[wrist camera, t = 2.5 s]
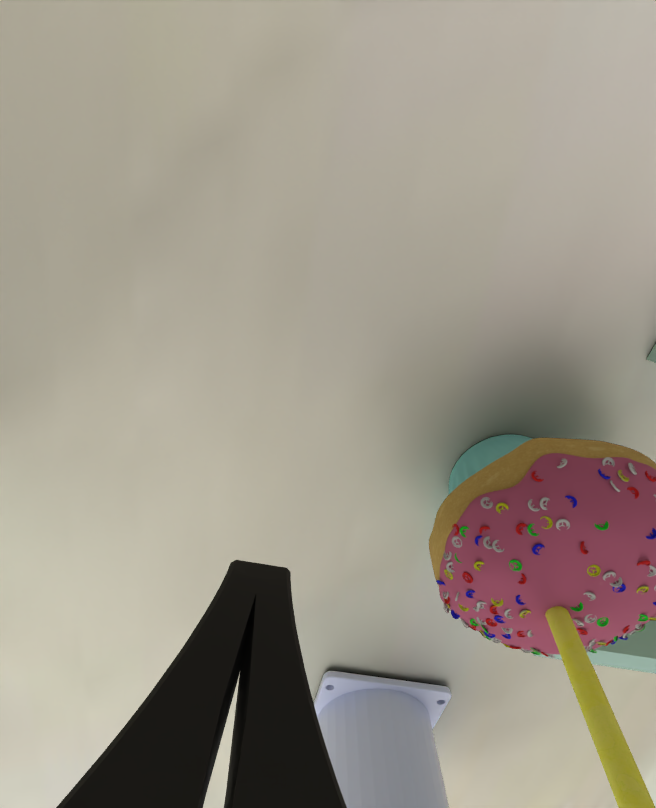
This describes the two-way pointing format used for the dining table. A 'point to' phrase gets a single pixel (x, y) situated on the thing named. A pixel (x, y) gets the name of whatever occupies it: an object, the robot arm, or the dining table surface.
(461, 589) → the cupcake
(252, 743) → the robot arm
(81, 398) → the dining table surface
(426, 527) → the dining table surface
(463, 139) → the dining table surface
